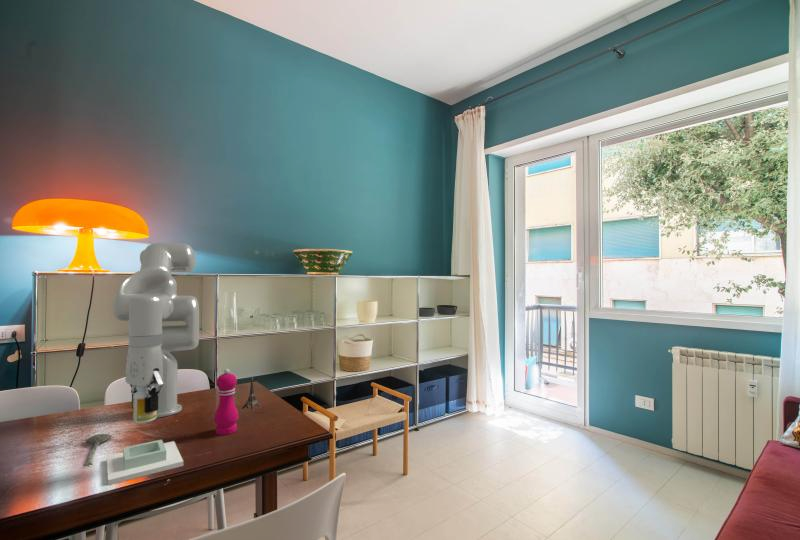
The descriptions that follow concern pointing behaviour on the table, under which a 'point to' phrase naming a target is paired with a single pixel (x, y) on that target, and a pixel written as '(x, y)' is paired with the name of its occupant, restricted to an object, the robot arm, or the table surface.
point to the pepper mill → (226, 404)
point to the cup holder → (142, 460)
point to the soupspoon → (96, 444)
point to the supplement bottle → (141, 407)
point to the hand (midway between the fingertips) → (144, 408)
